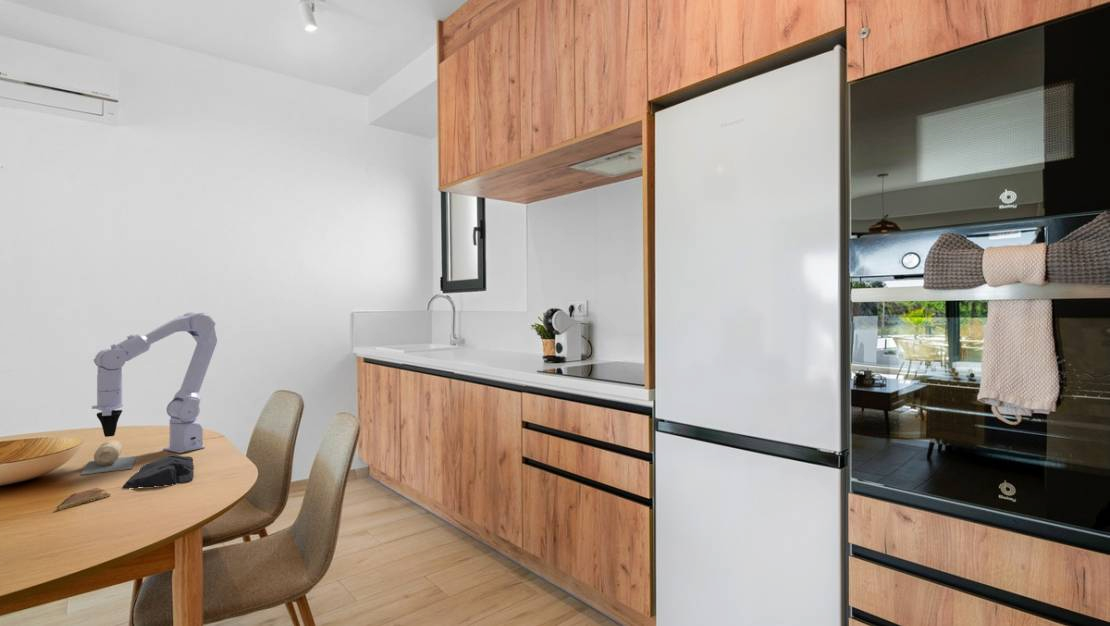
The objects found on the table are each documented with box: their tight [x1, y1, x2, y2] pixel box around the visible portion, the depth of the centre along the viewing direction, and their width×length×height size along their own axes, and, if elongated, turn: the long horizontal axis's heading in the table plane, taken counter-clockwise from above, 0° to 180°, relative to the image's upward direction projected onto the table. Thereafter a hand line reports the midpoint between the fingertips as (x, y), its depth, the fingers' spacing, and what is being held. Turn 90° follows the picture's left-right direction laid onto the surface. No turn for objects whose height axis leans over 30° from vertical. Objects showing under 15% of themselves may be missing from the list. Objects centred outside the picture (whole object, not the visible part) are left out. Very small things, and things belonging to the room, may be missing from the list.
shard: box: [56, 487, 111, 511], centre depth 130 cm, size 11×8×2 cm
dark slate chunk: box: [121, 454, 195, 490], centre depth 150 cm, size 15×22×5 cm
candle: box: [93, 439, 123, 466], centre depth 161 cm, size 6×6×10 cm
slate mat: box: [80, 455, 137, 476], centre depth 158 cm, size 14×11×1 cm
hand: (109, 436), depth 162 cm, fingers closed
